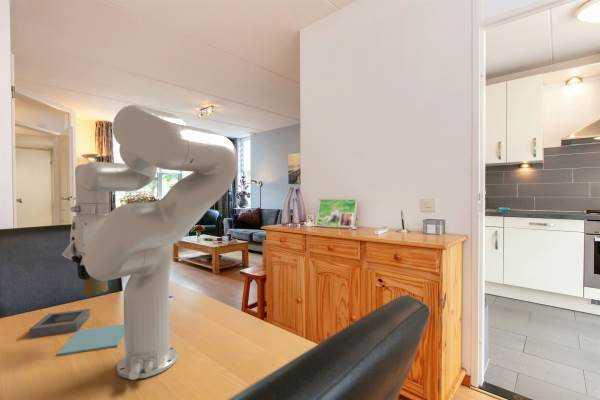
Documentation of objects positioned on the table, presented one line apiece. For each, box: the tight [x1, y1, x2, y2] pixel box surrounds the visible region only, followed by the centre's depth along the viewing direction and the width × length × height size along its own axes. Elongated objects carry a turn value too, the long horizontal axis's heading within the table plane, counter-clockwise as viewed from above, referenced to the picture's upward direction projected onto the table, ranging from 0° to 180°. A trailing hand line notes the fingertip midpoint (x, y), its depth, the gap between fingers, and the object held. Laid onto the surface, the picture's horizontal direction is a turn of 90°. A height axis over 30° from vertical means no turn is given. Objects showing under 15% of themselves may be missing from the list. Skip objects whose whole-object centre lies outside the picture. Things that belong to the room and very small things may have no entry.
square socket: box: [29, 308, 91, 339], centre depth 89 cm, size 11×11×2 cm
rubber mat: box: [57, 323, 124, 356], centre depth 81 cm, size 13×13×1 cm
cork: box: [81, 275, 109, 296], centre depth 81 cm, size 6×6×11 cm
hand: (94, 275), depth 81 cm, fingers closed on cork, 4 cm apart
